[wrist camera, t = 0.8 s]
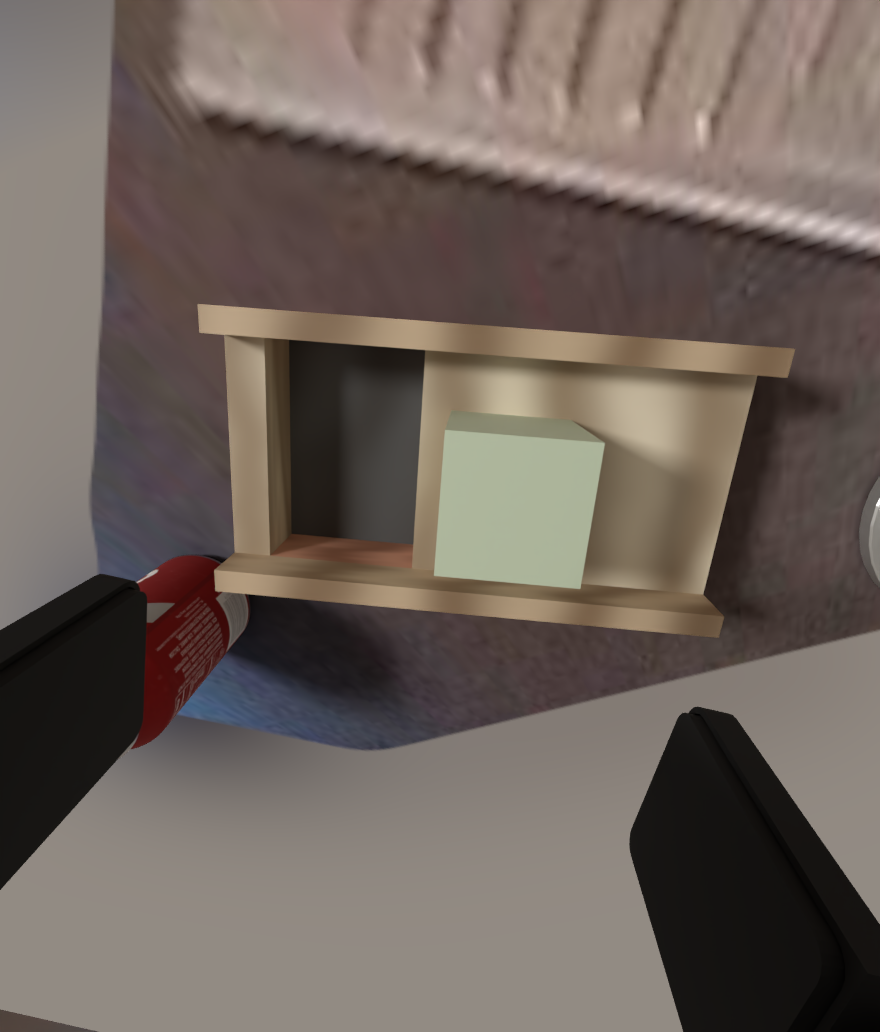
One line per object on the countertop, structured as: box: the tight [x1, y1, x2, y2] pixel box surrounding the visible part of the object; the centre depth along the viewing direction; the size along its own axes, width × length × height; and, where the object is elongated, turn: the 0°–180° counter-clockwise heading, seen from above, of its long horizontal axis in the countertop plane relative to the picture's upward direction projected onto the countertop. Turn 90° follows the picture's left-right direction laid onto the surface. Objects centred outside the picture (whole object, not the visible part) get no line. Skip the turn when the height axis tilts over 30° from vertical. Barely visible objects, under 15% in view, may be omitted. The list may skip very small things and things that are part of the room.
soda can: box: [117, 555, 251, 760], centre depth 29 cm, size 7×7×12 cm
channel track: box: [198, 304, 795, 638], centre depth 28 cm, size 26×14×6 cm, turn 86°
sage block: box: [434, 410, 605, 589], centre depth 24 cm, size 6×6×7 cm
